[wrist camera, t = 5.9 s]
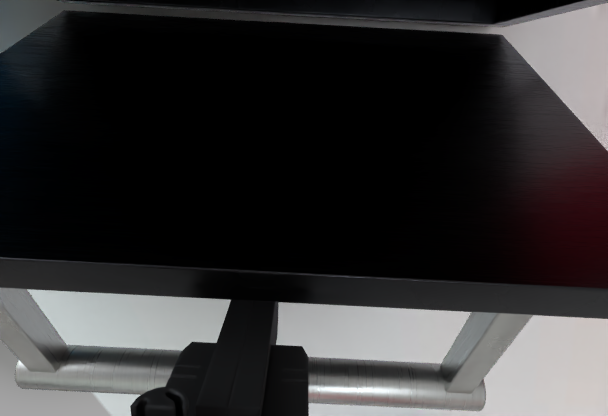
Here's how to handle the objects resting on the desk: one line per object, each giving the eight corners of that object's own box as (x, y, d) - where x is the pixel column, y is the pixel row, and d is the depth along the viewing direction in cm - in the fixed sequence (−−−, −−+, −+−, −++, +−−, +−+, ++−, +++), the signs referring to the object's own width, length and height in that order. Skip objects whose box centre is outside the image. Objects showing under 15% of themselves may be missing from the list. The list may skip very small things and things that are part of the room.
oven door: (63, 9, 22) (-281, 244, 9) (502, 34, 22) (741, 296, 9) (109, 143, 27) (-65, 396, 15) (455, 162, 27) (564, 427, 15)
